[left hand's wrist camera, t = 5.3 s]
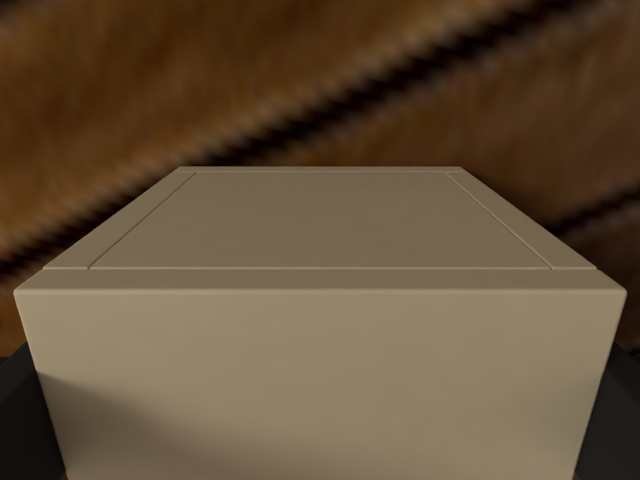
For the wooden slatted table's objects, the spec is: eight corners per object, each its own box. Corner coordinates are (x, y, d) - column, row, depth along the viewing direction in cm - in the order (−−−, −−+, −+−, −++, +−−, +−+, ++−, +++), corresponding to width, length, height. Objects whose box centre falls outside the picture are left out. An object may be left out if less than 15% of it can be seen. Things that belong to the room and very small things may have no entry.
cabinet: (423, 475, 24) (493, 751, 14) (216, 475, 24) (147, 751, 14) (461, 166, 17) (631, 290, 8) (179, 166, 17) (10, 290, 8)
